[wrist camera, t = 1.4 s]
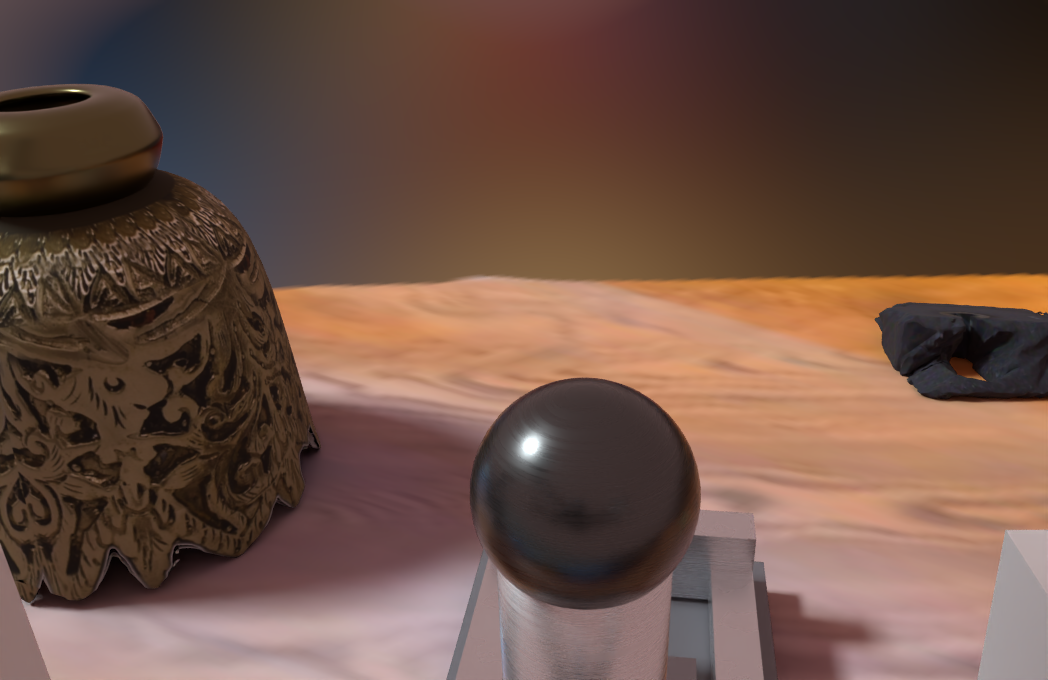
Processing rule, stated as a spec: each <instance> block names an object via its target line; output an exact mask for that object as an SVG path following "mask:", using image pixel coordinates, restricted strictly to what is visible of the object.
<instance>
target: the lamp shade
mask: <svg viewBox="0 0 1048 680" xmlns="http://www.w3.org/2000/svg"><path fill="white" fill-rule="evenodd" d="M162 141H163V133H162V131H161V128H160V126H159V124H158V123H157V121H156V119H155V118H154V116H153V115H152V113H151V112H150V110H149V109H148V108H147V106H146V105H145V104H144V103H143V102H142V101H141V100H140V99H139V98H138V97H137V96H135V95H133V94H131V93H129V92H126V91H124V90H121V89H118V88H114V87H109V86H102V85H91V84H64V85H48V86H37V87H29V88H22V89H15V90H9V91H4V92H0V544H1V547H2V550H3V552H4V555H5V558H6V560H7V563H8V566H9V568H10V571H11V574H12V577H13V579H14V582H15V585H16V587H17V590H18V593H19V595H20V597H21V598H22V599H23V600H24V601H26V602H28V603H30V602H31V601H32V600H33V599H34V598H35V596H36V594H37V592H38V590H39V589H40V586H41V583H42V580H44V581H45V584H46V585H47V587H48V588H49V591H50V592H51V593H53V594H55V595H59V596H62V597H65V598H66V599H67V600H82V599H84V598H86V597H87V596H89V595H90V594H92V593H93V592H94V591H95V590H97V588H98V586H99V584H100V582H102V580H103V578H104V575H105V574H106V571H107V569H108V567H109V564H110V561H111V558H112V557H113V556H115V557H118V558H119V559H120V561H121V562H122V563H123V564H125V565H126V566H127V567H128V570H129V572H130V573H131V574H132V575H134V576H135V577H137V580H138V581H140V582H141V583H142V584H143V585H144V586H145V587H146V588H149V589H153V588H159V587H160V585H161V583H162V582H163V581H164V580H165V579H166V578H167V577H168V574H169V573H170V571H171V570H172V569H173V568H174V567H173V568H171V567H172V566H175V564H176V563H177V562H178V561H179V559H178V560H177V561H175V563H174V565H173V563H172V560H173V559H172V555H173V551H174V547H175V546H176V545H179V547H178V548H179V550H180V549H181V548H196V549H200V550H202V551H203V552H207V553H212V554H216V555H221V556H226V557H238V556H240V555H241V554H243V553H244V552H245V551H246V549H247V548H248V547H249V546H250V545H251V544H252V543H253V542H254V541H255V540H256V539H257V538H258V536H259V535H260V534H261V533H262V531H263V530H264V528H265V527H266V526H267V524H268V522H269V520H270V518H271V515H272V510H273V507H274V504H275V503H276V502H278V503H279V504H281V505H285V506H288V507H293V508H295V507H296V506H297V505H298V503H299V501H300V498H301V495H302V493H303V490H304V487H305V481H304V478H303V475H302V473H301V466H300V452H301V450H303V449H306V448H308V447H306V446H304V445H307V446H308V445H309V443H310V444H311V446H312V448H317V449H320V448H321V445H320V441H319V438H318V435H317V432H316V429H315V427H314V424H313V421H312V418H311V414H310V411H309V408H308V404H307V401H306V397H305V394H304V391H303V387H302V384H301V380H300V377H299V374H298V370H297V367H296V363H295V360H294V357H293V353H292V350H291V347H290V343H289V340H288V337H287V333H286V330H285V327H284V324H283V320H282V317H281V314H280V311H279V308H278V305H277V302H276V299H275V296H274V293H273V290H272V287H271V284H270V282H269V279H268V277H267V275H266V272H265V269H264V267H263V264H262V262H261V260H260V258H259V256H258V254H257V252H256V250H255V247H254V245H253V244H252V241H251V239H250V238H249V236H248V234H247V232H246V231H245V230H244V228H243V227H242V225H241V224H240V222H239V221H238V219H237V218H236V217H235V216H234V215H233V214H232V212H231V211H229V209H228V208H227V207H226V206H225V205H224V204H223V203H222V202H221V201H220V200H219V199H217V198H216V197H215V196H213V195H212V194H211V193H210V192H208V191H207V190H206V189H204V188H203V187H201V186H199V185H197V184H195V183H194V182H192V181H190V180H188V179H186V178H183V177H180V176H178V175H175V174H172V173H169V172H166V171H162V170H157V167H158V164H159V160H160V155H161V149H162ZM308 431H309V432H308ZM311 433H314V434H311ZM312 435H313V436H312ZM303 446H304V447H303ZM112 548H114V549H116V550H117V551H118V553H119V554H120V555H121V556H122V557H123V558H124V559H125V560H126V561H127V563H128V564H129V565H128V564H127V563H126V561H125V560H124V559H123V558H122V557H121V556H120V555H119V554H117V553H115V552H112V553H111V554H110V556H109V553H110V552H109V551H110V549H112ZM179 550H176V552H175V553H179ZM108 557H109V558H108Z"/></svg>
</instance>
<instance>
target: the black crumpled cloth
mask: <svg viewBox="0 0 1048 680" xmlns="http://www.w3.org/2000/svg"><path fill="white" fill-rule="evenodd" d="M1039 313H1041V312H1038V313H1034V312H1032V311H1030V310H1026V309H1014V308H996V307H986V306H969V305H953V304H929V303H912V302H909V303H903V304H896V305H894V306H893V307H892V308H887V309H885V310H884V311H882V312H881V313H879V316H880V317H878V318H875V321H876V322H877V323H878V325H879V327H880V329H881V331H882V346H883V348H884V351H885V353H886V355H887V356H888V358H889V360H890V362H891V364H892V366H893V368H894V369H895V370H897V371H900V374H901V375H902V376H907V377H909V378H908V379H907V380H908V383H909V384H911V385H914V387H915V388H917V389H918V392H919V393H921V394H923V395H925V396H927V397H929V398H941V399H949V398H950V397H951V396H974V397H981V398H1010V397H1020V398H1029V397H1033V396H1035V397H1038V398H1042V397H1045V396H1048V314H1047V312H1046V313H1041V314H1044V315H1041V314H1039ZM951 357H959V358H966V359H967V360H968V361H970V362H971V363H973V369H974V370H975V371H976V372H977V373H978V374H979V375H980V376H981V377H983V378H984V379H985V380H986V381H982V380H978V379H973V378H966V377H963V376H961V375H957V373H956V371H955V370H954V369H953V367H951V365H950V363H949V360H950V359H951ZM912 375H913V376H912Z"/></svg>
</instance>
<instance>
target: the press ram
mask: <svg viewBox="0 0 1048 680" xmlns="http://www.w3.org/2000/svg"><path fill="white" fill-rule="evenodd" d="M700 503H701V487H700V480H699V474H698V468H697V464H696V461H695V459H694V456H693V453H692V450H691V447H690V445H689V443H688V442H687V440H686V438H685V436H684V434H683V433H682V431H681V429H680V428H679V427H678V425H677V424H676V423H675V422H674V420H673V419H672V418H671V417H670V416H669V414H668V413H667V412H665V411H664V410H663V409H662V408H661V407H660V406H659V405H658V404H657V403H655V402H654V401H653V400H651V399H650V398H648V397H647V396H645V395H643V394H642V393H640V392H639V391H637V390H635V389H633V388H630V387H628V386H625V385H622V384H619V383H616V382H613V381H609V380H604V379H598V378H571V379H564V380H559V381H555V382H552V383H549V384H546V385H543V386H540V387H538V388H536V389H534V390H532V391H530V392H528V393H527V394H525V395H523V396H522V397H520V398H518V399H517V400H516V401H515V402H513V403H512V404H511V405H510V406H509V407H508V408H506V409H505V410H504V411H503V412H502V413H501V414H500V415H499V417H498V418H497V419H496V420H495V422H494V423H493V424H492V426H491V427H490V428H489V430H488V431H487V433H486V435H485V437H484V439H483V440H482V442H481V445H480V447H479V449H478V452H477V455H476V457H475V460H474V464H473V469H472V474H471V480H470V506H471V513H472V518H473V523H474V526H475V529H476V532H477V535H478V538H479V540H480V542H481V545H482V547H483V548H484V550H485V552H486V554H487V556H488V557H489V558H488V562H487V566H486V569H485V573H484V577H483V580H482V584H481V588H480V591H479V595H478V599H477V602H476V606H475V610H474V613H473V617H472V621H471V624H470V628H469V632H468V635H467V639H466V643H465V646H464V650H463V654H462V657H461V661H460V665H459V668H458V672H457V676H456V679H455V680H666V676H667V659H668V642H669V625H670V609H671V597H682V598H694V599H707V600H708V607H709V632H710V657H711V680H764V677H763V667H762V658H761V648H760V639H759V629H758V619H757V610H756V600H755V590H754V581H753V564H754V555H755V546H756V534H755V525H754V516H753V513H739V512H724V511H710V510H700Z"/></svg>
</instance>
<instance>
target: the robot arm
mask: <svg viewBox="0 0 1048 680" xmlns="http://www.w3.org/2000/svg"><path fill="white" fill-rule="evenodd" d="M0 680H51V679H50V676H49V674H48V671H47V668H46V666H45V663H44V660H43V658H42V655H41V652H40V649H39V647H38V644H37V641H36V639H35V636H34V633H33V631H32V628H31V625H30V622H29V620H28V617H27V614H26V612H25V609H24V606H23V604H22V601H21V598H20V595H19V593H18V590H17V587H16V585H15V582H14V579H13V577H12V574H11V571H10V568H9V566H8V563H7V560H6V558H5V555H4V552H3V550H2V547H1V544H0ZM977 680H1048V530H1006V531H1005V536H1004V541H1003V546H1002V552H1001V557H1000V562H999V568H998V573H997V578H996V584H995V589H994V594H993V600H992V605H991V610H990V616H989V621H988V626H987V631H986V637H985V642H984V647H983V653H982V658H981V663H980V669H979V674H978V679H977Z"/></svg>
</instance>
